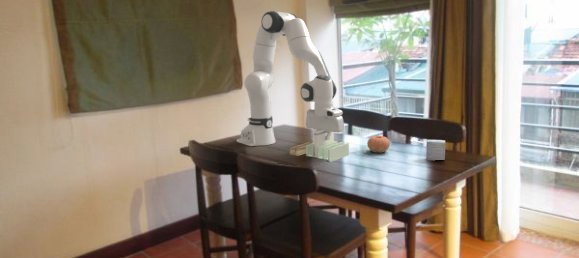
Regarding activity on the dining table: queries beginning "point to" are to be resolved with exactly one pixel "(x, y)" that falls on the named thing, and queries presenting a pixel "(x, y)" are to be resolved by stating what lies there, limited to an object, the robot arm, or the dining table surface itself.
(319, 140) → the plate
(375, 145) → the orange rounded piece
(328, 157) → the rack
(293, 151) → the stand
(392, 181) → the dining table surface
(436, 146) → the medicine box
